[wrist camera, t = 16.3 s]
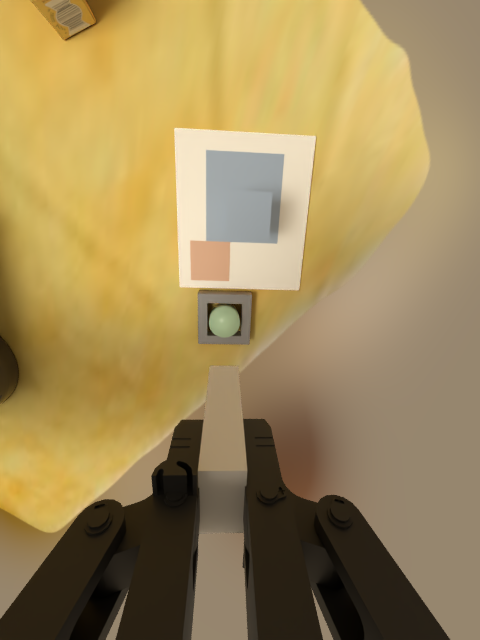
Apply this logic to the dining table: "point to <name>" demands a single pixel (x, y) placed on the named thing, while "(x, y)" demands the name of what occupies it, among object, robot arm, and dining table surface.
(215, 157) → the picture card
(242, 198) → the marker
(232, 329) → the button
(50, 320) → the dining table surface
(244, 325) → the button housing
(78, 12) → the candy box
